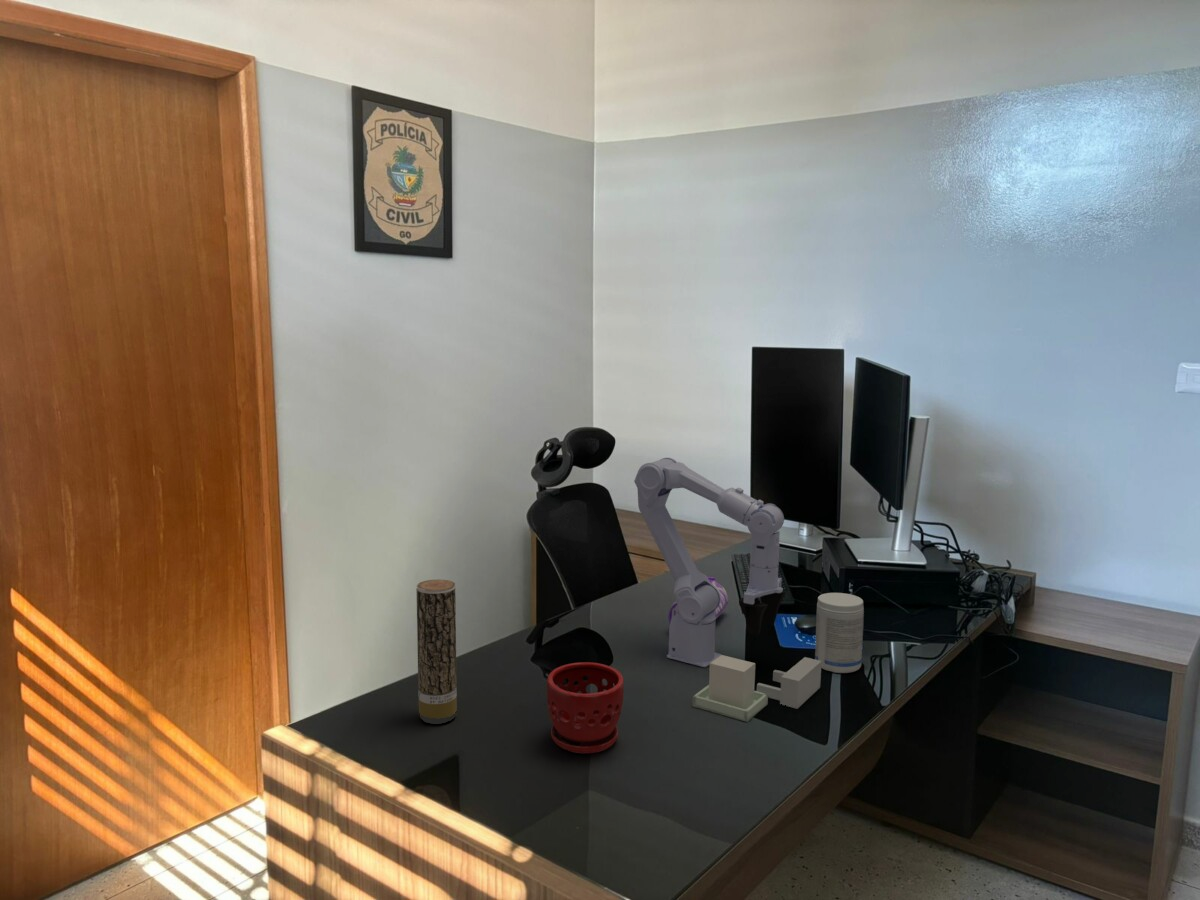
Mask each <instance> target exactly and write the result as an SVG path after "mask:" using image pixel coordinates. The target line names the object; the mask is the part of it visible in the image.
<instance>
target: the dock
mask: <svg viewBox="0 0 1200 900" xmlns="http://www.w3.org/2000/svg"><path fill="white" fill-rule="evenodd" d="M821 662H822V661H819V660H815V658H814V659H813V658H812V657H806V656H804V657H803V658H802V659H801V660H799V661H798V662H797V663H796V664H795V665H793V666H792V667H791V668H790V669H789V670H787V671H782V670H777V669H774V670H773V672H772V681H773V682H777V683H780V687H777V686H773V685H769V684H765V683H761V682H758V683H757V684H756V691H758V692H761V693H765V694H768V699H773V700H777V701H779V705H781V704H782V705H781V706H785V705H786V707H790V708H793V709H797V710H798V709H799V708H800V707H801V706H802V705H803V704H804V703H805V702H806V701H808V699H810V697H812V696H813V695H814V694H815V693H816V692H817V691H819V689H820V688H821V677H822V675H821V674H822V668H821Z"/></svg>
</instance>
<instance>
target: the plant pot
mask: <svg viewBox="0 0 1200 900" xmlns="http://www.w3.org/2000/svg"><path fill="white" fill-rule="evenodd" d="M584 677H587V680H584V679H583V678H584ZM566 679H567V680H568V683H567V684H564V681H565V680H566ZM603 680H606V682H607V683H606V685H605V684H604V682H603ZM575 682H578V684H576V685H575V684H574V683H575ZM624 682H625V679H624V677H623V675H622V673H621V672H620V671H618V670H617V669H616V668H614V667H612V666H609V665H606V664H603V663H598V662H589V661H587V662H585V661H584V662H582V661H581V662H574V663H573V662H572V663H568V664H564V665H560V666H559V667H556V668H554V669H553V670H552V671H551V672H550V673H549V674H548V676H547V681H546V699H547V700H546V701H547V708H548V712H549V717H550V719H551V722H552V727H551V729H550V735H551V739H552V740H553V742H554V743H555V744H556V745H557V746H559V747H560V748H562V749H563V750H565V751H567V750H568V752H571V753H574V754H575V753H577V754H595V753H599V752H603V751H605V750H607V749H608V748H611V747H612V746H613V745H614V743H615V742H616V741H617V740H618V737H619V729H618V727H617V725H618V723H619V721H620V720H619V719H620V716H621V713H622V709H623V703H624V693H625V692H624V689H625V687H624V685H625V684H624ZM588 685H594V686H596V688H597V692H591V693H588V692H587V687H588ZM568 690H569V691H568ZM579 692H581V693H579Z"/></svg>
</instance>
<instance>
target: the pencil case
mask: <svg viewBox="0 0 1200 900" xmlns="http://www.w3.org/2000/svg"><path fill="white" fill-rule="evenodd" d="M707 578H708V580H709V582H710V583H711V584H712V585H713V586H715V587H716V588H717V590H718V591H719V593H720V597H721V601H720V605H719V606H718V608H717V609H715V616H716V619H718V618H719V617H720V616H721V615H722V614H723V613H724V612H725V610H726V608H727V607H728V603H729V596H728V593H727V591H726V589H725V588H724V586H723V585H721V584H720V583H719V582H717V581H716V578H715V577H714V576H713V577H712V576H707ZM676 614H679V612H678V609H677V600H676V599H675V602H673V604H672V605H671V606H670V608H669V611H668V614H667V615H668V618H667V619H668V620H667V621H668V624H669V626H670V623H671V620H672V618H673V617H674V616H675V615H676Z"/></svg>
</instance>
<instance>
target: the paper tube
mask: <svg viewBox="0 0 1200 900" xmlns="http://www.w3.org/2000/svg"><path fill="white" fill-rule="evenodd" d="M456 599H457V596H456V583H455V582H454V581H453V580H449V579H428V580H427V579H426V580H423V581H420V582H419V583H417V585H416V629H417V630H416V632H417V634H416V635H417V636H416V637H417V683H418V684H417V686H418V689H417V690H418V691H417V693H418V696H417V697H418V714H419V713H420V715H422V716H424V717H428V718H436V719H438V718H439V719H440V718H446V717H450V716H452V715H453V714H455V712H456V711H458V708H457V701H458V700H457V696H458V694H457V693H458V691H457V688H458V687H457V622H456V620H457V609H456V608H457V607H456V606H457V605H456V603H457V602H456Z"/></svg>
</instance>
